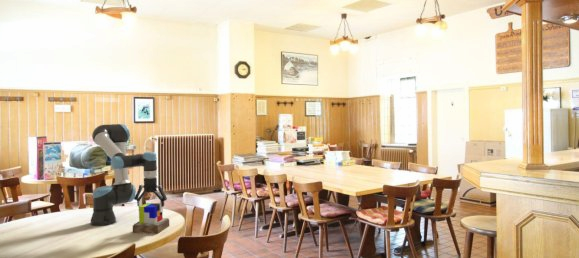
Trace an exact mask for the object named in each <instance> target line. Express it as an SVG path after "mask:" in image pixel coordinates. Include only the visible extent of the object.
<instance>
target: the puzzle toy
mask: <svg viewBox="0 0 579 258" xmlns="http://www.w3.org/2000/svg"><path fill="white" fill-rule="evenodd" d="M163 216H164V215H163V212H160V202H159V203H156V202H154V203H153V202H151V203H150V202H147V203H144V204H142V206H140V207H139V206H138V222H139V223H147V224H155V223H157V222H159V221H161V220H162V219H163V218H164V217H163Z"/></svg>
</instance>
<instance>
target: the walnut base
mask: <svg viewBox="0 0 579 258" xmlns="http://www.w3.org/2000/svg"><path fill="white" fill-rule="evenodd" d="M169 227H170V219H169V218H168V217H167V218H166V217H165V218H164V217H163V219H162V220H161V221H159V222H157V223H155V224H147V223H139V221H137V222H136V223H134V224H133V225H132V234H160V233H161V232H163V231H164V230H166V229H167V228H169Z"/></svg>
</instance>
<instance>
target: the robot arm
mask: <svg viewBox="0 0 579 258" xmlns="http://www.w3.org/2000/svg"><path fill="white" fill-rule="evenodd" d="M91 137H92V141H93V142H94V144H95V145H97V146H99V147H100V148H101V149H102V150H103V151H104V153H105V154H106V155H107V157H109V158H110V165H111V168H112V169H113V173H114V174H113V175H114V183H113V184H112V185H103V186H102V185H101V186H99V187H96V188H95V189H93V190H92V209H93V210H92V215H91V218H90V225H92V226H108V225H112V224H114V223H116V222H117V217H116V214H115V212H114V209H113V207H114V206H116V205H121V204H127V203H131V202H133V201H136V204H137V205H136V206H137V207H138V208H139V207H140V206H142V205H143V201H142V199H143V197H144V196H145V195H146V194H149V193H151V194H152V193H153V194H154V195H155V196H156V197H157V198H158V199H159V200H160V201H159V204H160V212H162V213H163V212H164V207H165V201H167V200H168V197H167V194H166V193H165V191H164V190H163V185H162V184H160V185H158V178H157V171H158V170H157V168H158V167H157V152H155V151H144V153H136V154H128V155H127V151H126V150H127V149H126V145H127V144H128V141H129V140H130V138H131V132H130V129H129V127H128V126H127V125H126V124H122V123H120V124H119V123H115V124H114V123H113V124H101V125H98V126H96V127H95V128H94V130H93V131H92V134H91ZM138 167H143V184H139V185H138V189H137V191H136V187H135V185H134V184H132V181H130V178H129V170H128V168H138ZM143 189H144V190H143ZM142 190H143V192H142Z"/></svg>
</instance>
